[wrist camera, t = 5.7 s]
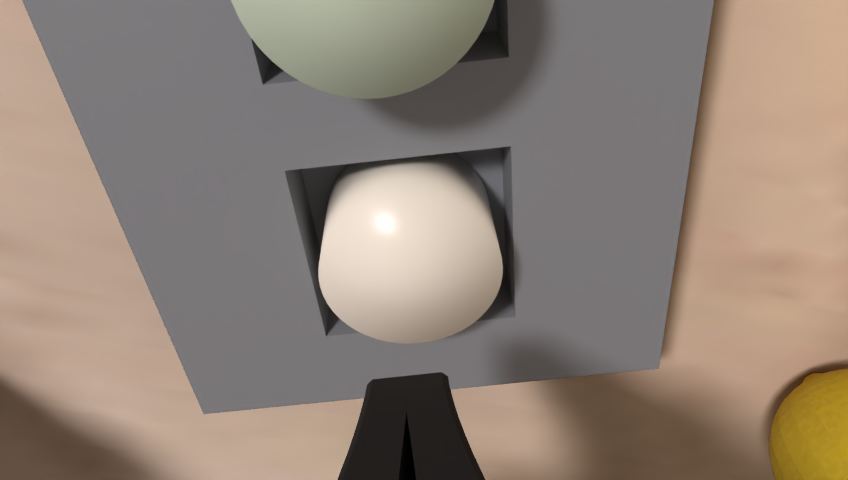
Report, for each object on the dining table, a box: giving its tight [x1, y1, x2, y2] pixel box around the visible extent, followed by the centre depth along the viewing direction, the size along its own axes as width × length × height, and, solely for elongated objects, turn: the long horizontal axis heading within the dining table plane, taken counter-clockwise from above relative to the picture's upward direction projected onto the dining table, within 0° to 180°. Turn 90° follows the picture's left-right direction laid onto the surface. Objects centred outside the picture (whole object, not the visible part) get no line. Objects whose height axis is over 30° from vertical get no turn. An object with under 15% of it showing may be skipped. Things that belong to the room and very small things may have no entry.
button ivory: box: [318, 153, 503, 344], centre depth 16 cm, size 4×4×3 cm
